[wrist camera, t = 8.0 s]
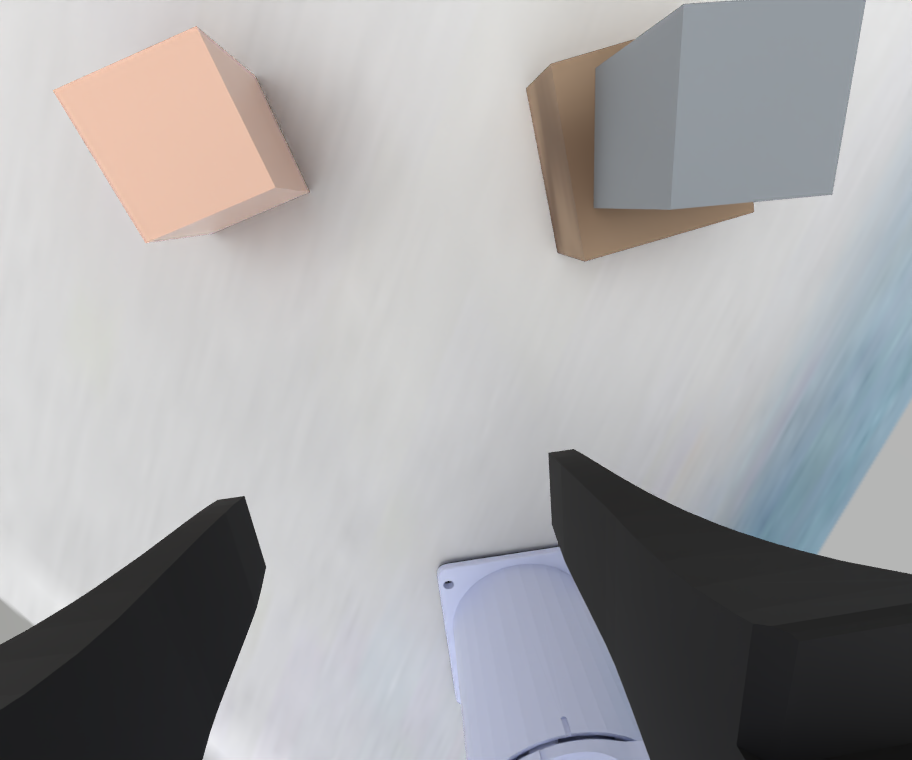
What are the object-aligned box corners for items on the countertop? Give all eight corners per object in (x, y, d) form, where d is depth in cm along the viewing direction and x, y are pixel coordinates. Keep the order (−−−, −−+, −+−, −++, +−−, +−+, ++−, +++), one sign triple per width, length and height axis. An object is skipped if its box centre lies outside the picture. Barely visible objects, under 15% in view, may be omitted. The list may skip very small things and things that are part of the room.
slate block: (709, 197, 16) (832, 194, 12) (593, 208, 16) (670, 209, 11) (722, 58, 15) (867, -9, 10) (595, 68, 15) (683, 4, 10)
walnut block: (696, 211, 20) (754, 212, 17) (555, 252, 20) (584, 261, 17) (681, 43, 18) (744, 7, 14) (524, 90, 18) (550, 63, 14)
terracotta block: (310, 192, 18) (275, 187, 13) (213, 233, 18) (145, 243, 14) (255, 76, 17) (196, 25, 12) (151, 122, 17) (52, 90, 12)
